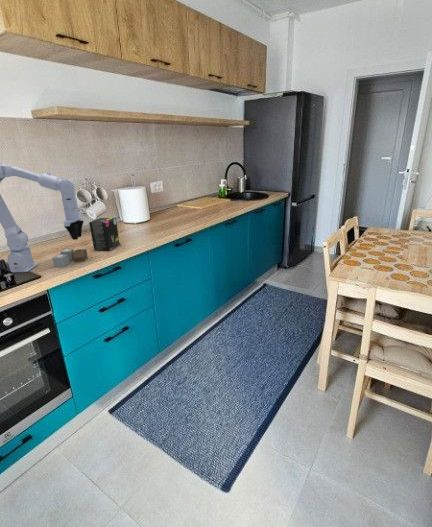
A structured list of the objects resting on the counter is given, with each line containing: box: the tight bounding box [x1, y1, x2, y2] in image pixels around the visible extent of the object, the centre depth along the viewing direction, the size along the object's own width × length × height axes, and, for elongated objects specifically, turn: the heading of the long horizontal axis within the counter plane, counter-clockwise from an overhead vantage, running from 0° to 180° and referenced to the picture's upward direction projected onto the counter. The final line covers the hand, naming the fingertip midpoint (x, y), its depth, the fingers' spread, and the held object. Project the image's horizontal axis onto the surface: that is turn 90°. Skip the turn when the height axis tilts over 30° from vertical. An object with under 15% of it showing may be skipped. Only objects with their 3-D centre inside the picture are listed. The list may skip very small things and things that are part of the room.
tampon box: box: [88, 217, 120, 252], centre depth 158 cm, size 11×9×15 cm
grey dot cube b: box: [51, 253, 71, 269], centre depth 137 cm, size 4×4×5 cm
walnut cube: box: [73, 248, 89, 263], centre depth 143 cm, size 4×4×4 cm
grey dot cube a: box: [59, 248, 75, 262], centre depth 145 cm, size 4×4×5 cm
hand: (77, 238), depth 140 cm, fingers open, 3 cm apart
